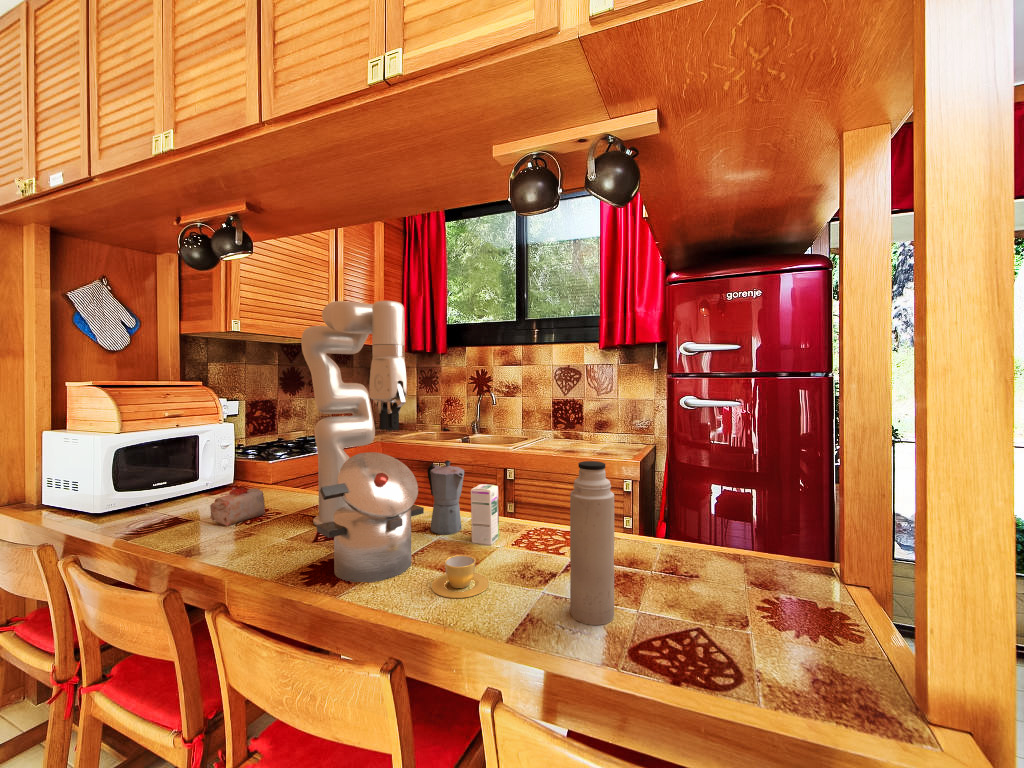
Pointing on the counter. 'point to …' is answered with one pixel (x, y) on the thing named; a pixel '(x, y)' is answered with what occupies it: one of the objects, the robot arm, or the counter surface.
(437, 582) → the cup
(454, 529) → the moka pot
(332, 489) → the lid
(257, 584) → the counter surface
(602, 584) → the thermos bottle
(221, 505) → the food item
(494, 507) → the syrup box
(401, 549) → the pot
